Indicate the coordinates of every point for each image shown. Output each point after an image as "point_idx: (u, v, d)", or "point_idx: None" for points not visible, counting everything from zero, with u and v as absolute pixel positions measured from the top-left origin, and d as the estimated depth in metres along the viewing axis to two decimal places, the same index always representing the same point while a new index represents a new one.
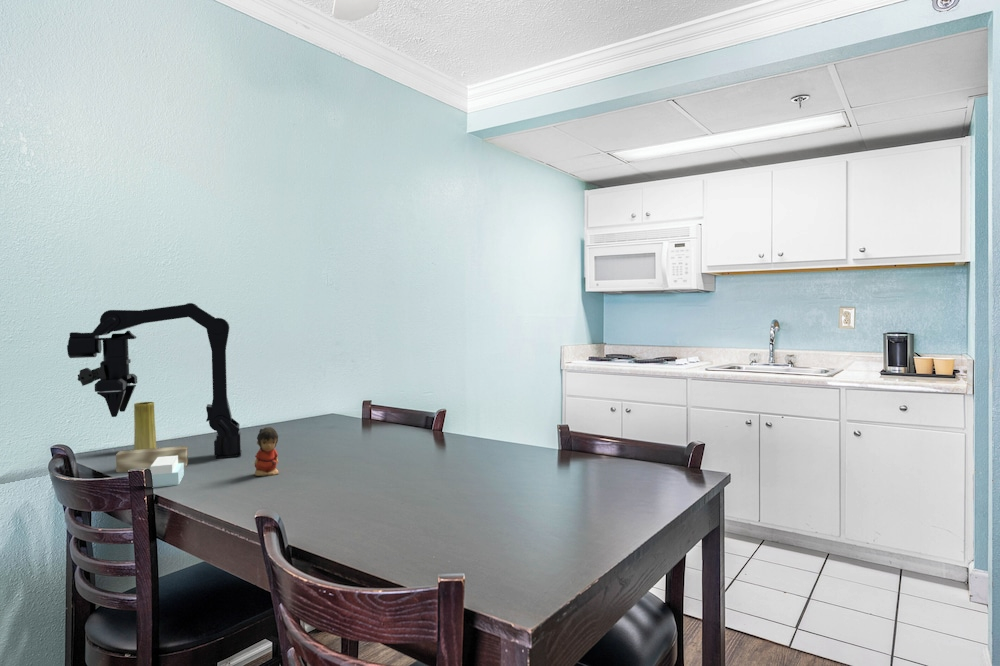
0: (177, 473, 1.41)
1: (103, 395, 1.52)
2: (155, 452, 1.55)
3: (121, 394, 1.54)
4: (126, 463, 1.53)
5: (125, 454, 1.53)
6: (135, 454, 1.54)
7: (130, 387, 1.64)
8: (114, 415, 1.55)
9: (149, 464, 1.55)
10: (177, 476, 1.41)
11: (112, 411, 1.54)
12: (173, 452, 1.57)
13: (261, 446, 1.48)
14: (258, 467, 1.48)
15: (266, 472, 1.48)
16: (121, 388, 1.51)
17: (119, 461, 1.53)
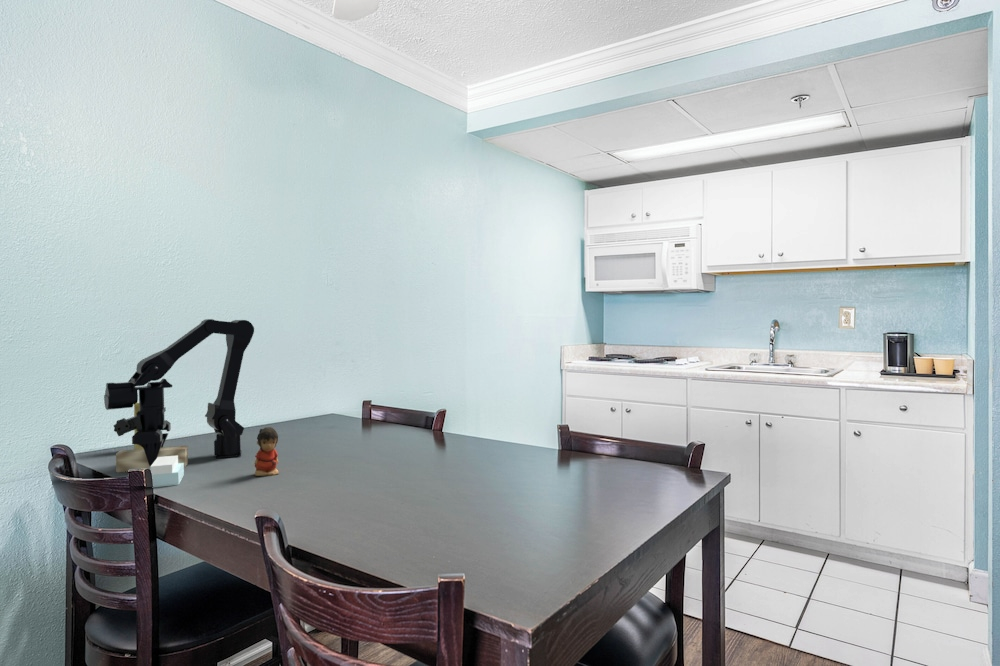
0: (177, 473, 1.41)
1: (142, 445, 1.52)
2: None
3: (159, 443, 1.54)
4: (126, 462, 1.53)
5: (125, 454, 1.53)
6: (135, 454, 1.54)
7: (163, 436, 1.60)
8: None
9: (148, 464, 1.55)
10: (177, 476, 1.41)
11: (150, 460, 1.54)
12: (173, 451, 1.57)
13: (261, 446, 1.48)
14: (258, 467, 1.48)
15: (266, 472, 1.48)
16: (158, 440, 1.49)
17: (119, 461, 1.53)
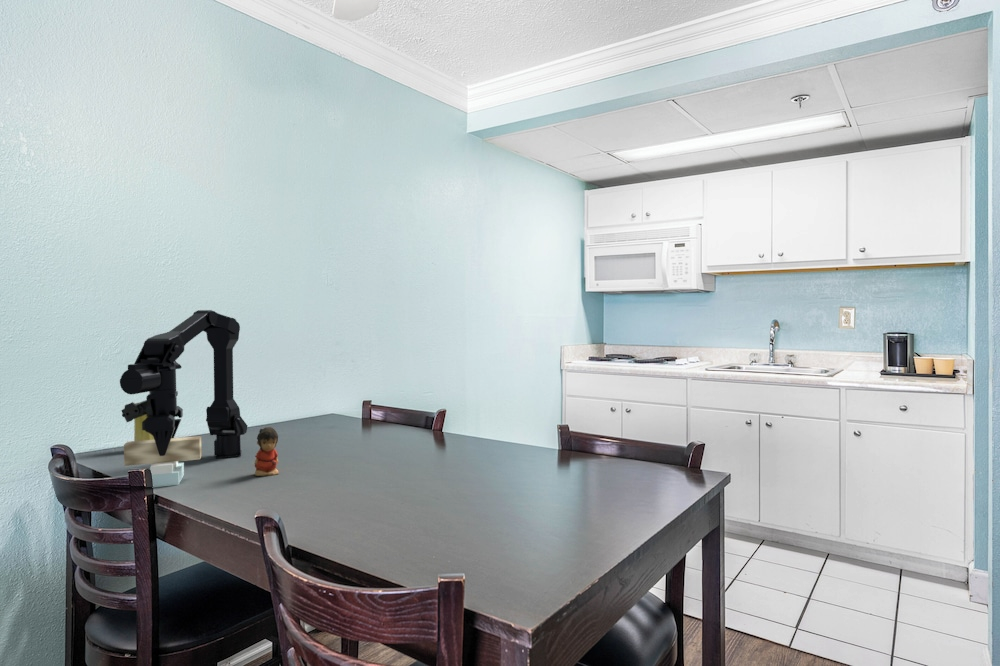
0: (177, 473, 1.41)
1: (151, 432, 1.38)
2: None
3: (171, 431, 1.39)
4: (135, 454, 1.40)
5: (134, 445, 1.40)
6: (144, 445, 1.41)
7: (175, 422, 1.48)
8: (162, 454, 1.40)
9: (159, 456, 1.42)
10: (177, 476, 1.41)
11: (160, 450, 1.40)
12: (186, 442, 1.44)
13: (261, 446, 1.48)
14: (258, 467, 1.48)
15: (266, 472, 1.48)
16: (171, 426, 1.36)
17: (127, 452, 1.39)
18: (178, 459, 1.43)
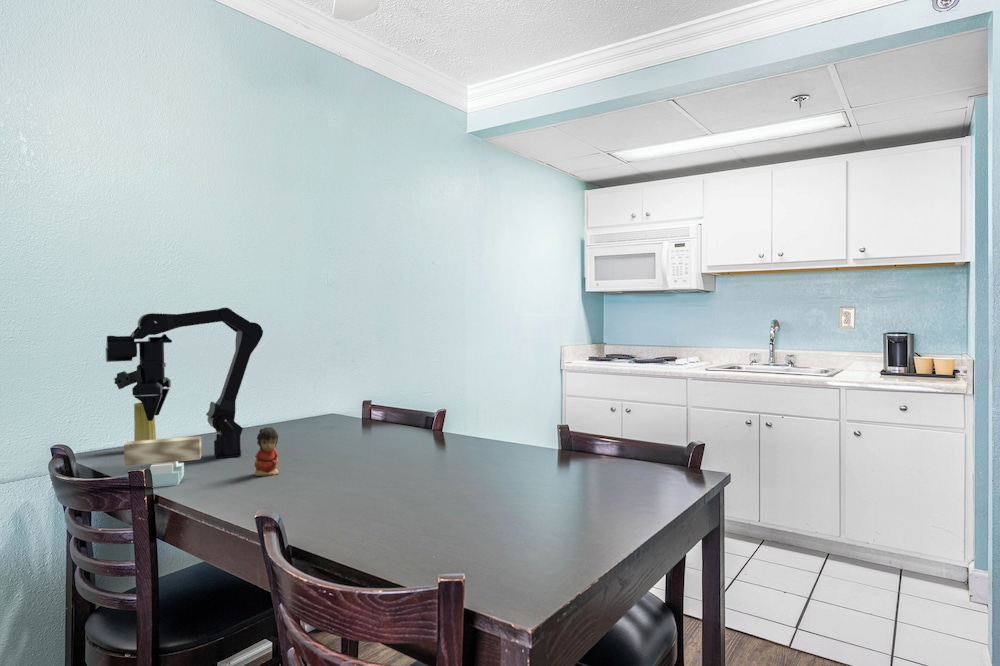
0: (177, 473, 1.41)
1: (140, 399, 1.51)
2: (166, 442, 1.42)
3: (158, 398, 1.53)
4: (135, 454, 1.40)
5: (134, 445, 1.40)
6: (144, 445, 1.41)
7: (164, 391, 1.64)
8: (150, 419, 1.54)
9: (159, 456, 1.42)
10: (177, 476, 1.41)
11: (148, 415, 1.54)
12: (186, 442, 1.44)
13: (261, 446, 1.48)
14: (258, 467, 1.48)
15: (266, 472, 1.48)
16: (158, 392, 1.51)
17: (127, 452, 1.39)
18: (178, 459, 1.43)
